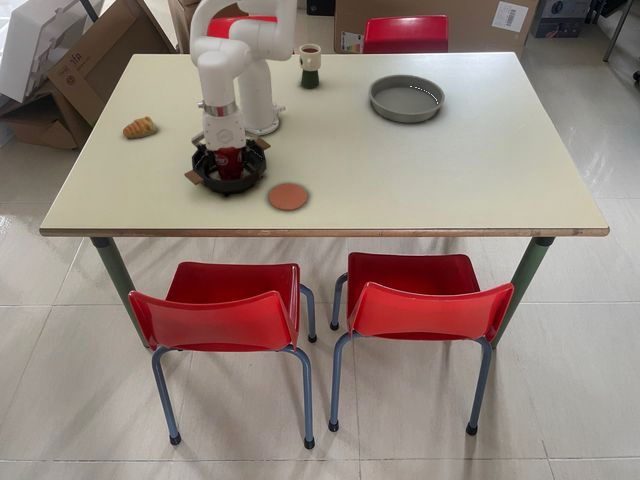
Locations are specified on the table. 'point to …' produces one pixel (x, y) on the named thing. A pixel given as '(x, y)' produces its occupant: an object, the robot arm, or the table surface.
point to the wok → (230, 186)
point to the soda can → (229, 163)
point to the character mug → (310, 64)
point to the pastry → (140, 128)
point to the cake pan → (405, 98)
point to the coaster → (288, 197)
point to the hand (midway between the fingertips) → (229, 162)
